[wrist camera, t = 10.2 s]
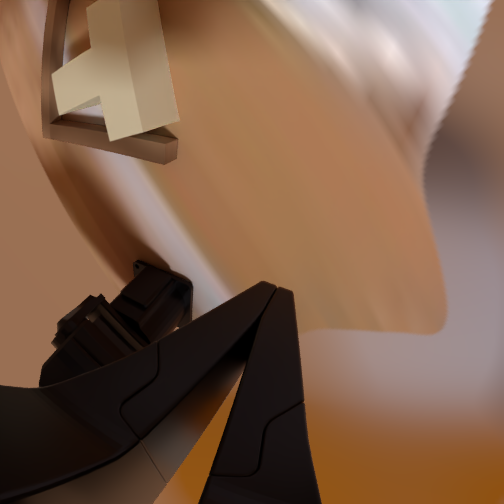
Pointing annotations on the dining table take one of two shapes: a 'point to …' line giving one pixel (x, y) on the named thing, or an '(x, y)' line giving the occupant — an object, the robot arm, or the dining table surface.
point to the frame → (85, 133)
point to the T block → (121, 69)
